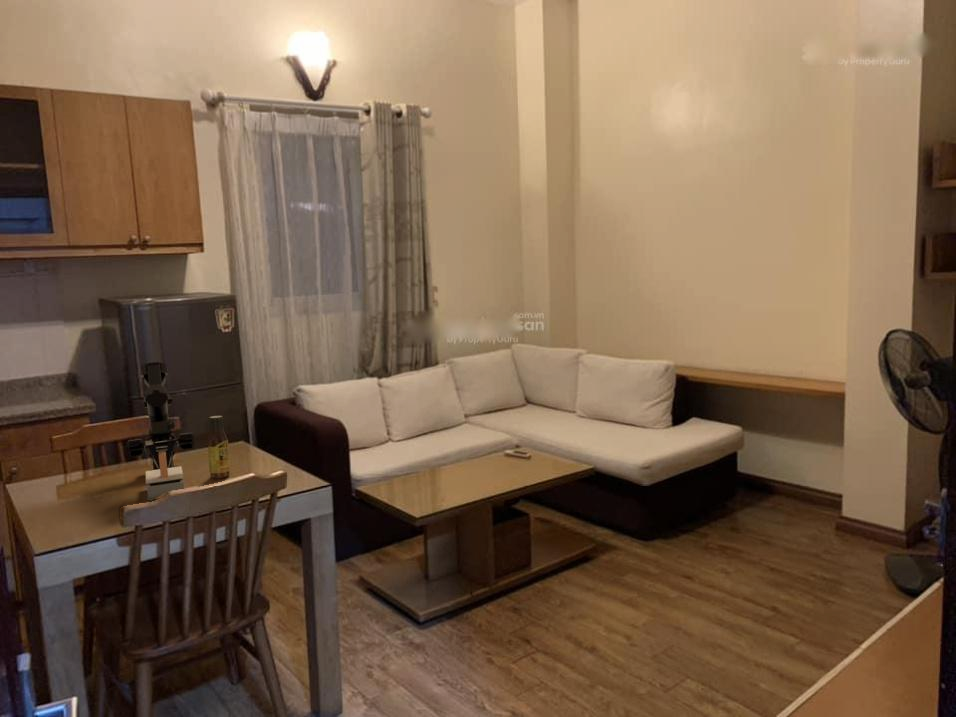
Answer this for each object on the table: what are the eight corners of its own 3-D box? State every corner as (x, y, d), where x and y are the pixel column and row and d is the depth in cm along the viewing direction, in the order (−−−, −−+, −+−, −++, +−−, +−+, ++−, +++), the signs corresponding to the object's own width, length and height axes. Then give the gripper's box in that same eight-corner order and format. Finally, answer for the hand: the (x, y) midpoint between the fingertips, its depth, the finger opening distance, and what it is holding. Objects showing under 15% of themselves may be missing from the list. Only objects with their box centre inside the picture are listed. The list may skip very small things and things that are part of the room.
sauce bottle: (223, 479, 230) (218, 419, 228) (206, 479, 232) (200, 419, 229) (234, 473, 237) (229, 414, 234) (217, 473, 238) (212, 414, 235)
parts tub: (148, 489, 222) (146, 477, 222) (182, 484, 227) (181, 472, 226) (148, 500, 212) (146, 487, 211) (184, 494, 216) (183, 482, 215)
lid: (146, 473, 225) (143, 448, 224) (181, 468, 229) (179, 443, 228) (146, 483, 214) (143, 456, 213) (183, 478, 218) (180, 451, 217)
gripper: (124, 414, 216) (127, 458, 207) (190, 407, 223) (195, 449, 215) (127, 434, 224) (130, 478, 215) (191, 427, 231) (196, 468, 223)
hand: (163, 467), depth 217 cm, fingers closed on lid, 2 cm apart
